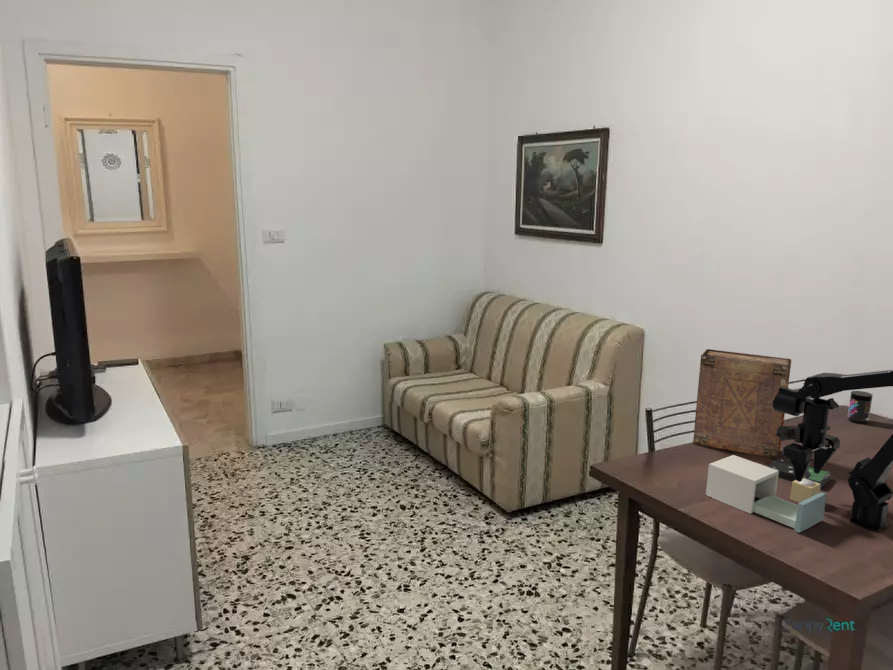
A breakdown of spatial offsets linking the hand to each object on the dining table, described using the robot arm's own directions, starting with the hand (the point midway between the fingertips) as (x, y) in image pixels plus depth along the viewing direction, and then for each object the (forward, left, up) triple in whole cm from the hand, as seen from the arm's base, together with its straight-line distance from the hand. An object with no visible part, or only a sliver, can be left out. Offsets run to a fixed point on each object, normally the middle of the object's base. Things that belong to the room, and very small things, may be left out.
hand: (807, 477), depth 180 cm
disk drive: (+9, -14, -7) cm, 18 cm away
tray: (-2, +14, -6) cm, 15 cm away
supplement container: (+22, -81, -7) cm, 84 cm away
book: (+32, -20, -7) cm, 38 cm away
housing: (+10, +14, -7) cm, 18 cm away
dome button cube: (0, 0, -7) cm, 7 cm away
